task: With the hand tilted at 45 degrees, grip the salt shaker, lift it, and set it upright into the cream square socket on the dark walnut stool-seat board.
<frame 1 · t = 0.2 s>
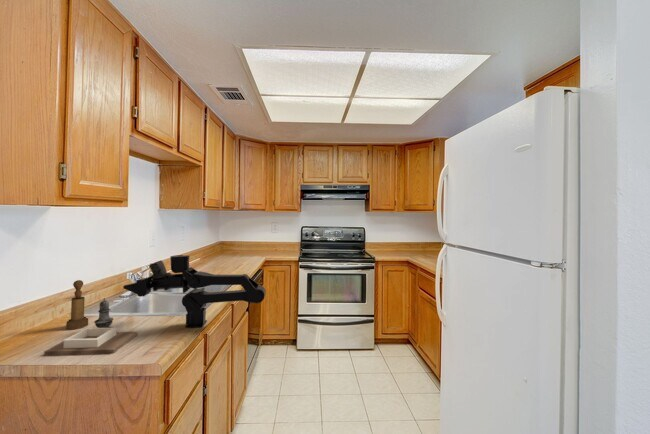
hand: (130, 284, 113), 17 cm above the countertop, tool horizontal, fingers open, 9 cm apart
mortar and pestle: (77, 326, 112), on the countertop
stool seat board: (94, 344, 97), on the countertop
salt shaker: (103, 330, 109), on the countertop
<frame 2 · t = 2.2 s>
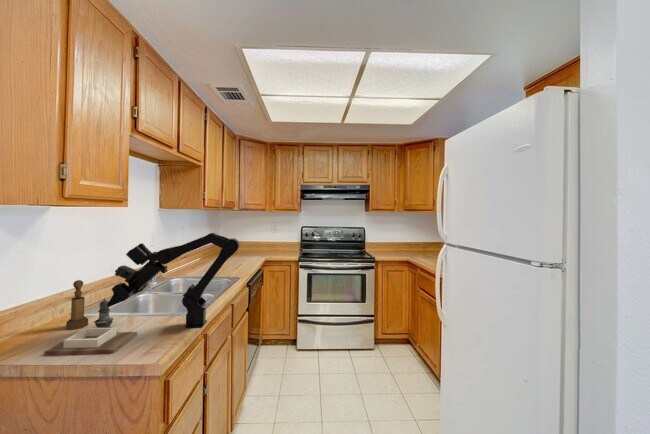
hand: (114, 302, 110), 10 cm above the countertop, tool tilted 45°, fingers open, 9 cm apart
nothing on the countertop moved.
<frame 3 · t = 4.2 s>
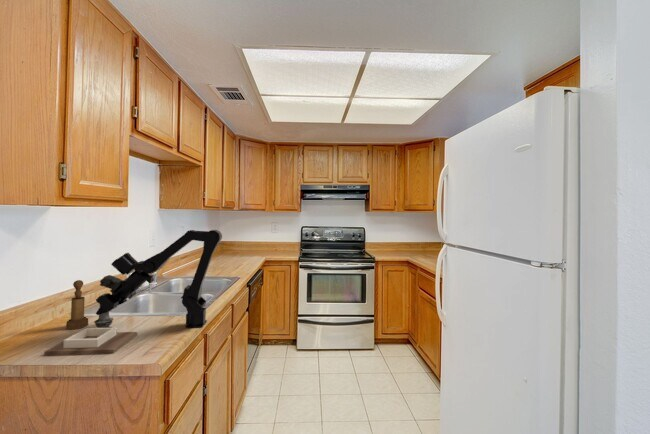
hand: (100, 312, 109), 7 cm above the countertop, tool tilted 45°, fingers closed on salt shaker, 4 cm apart
salt shaker: (103, 330, 109), on the countertop, touching gripper
everything else where it was.
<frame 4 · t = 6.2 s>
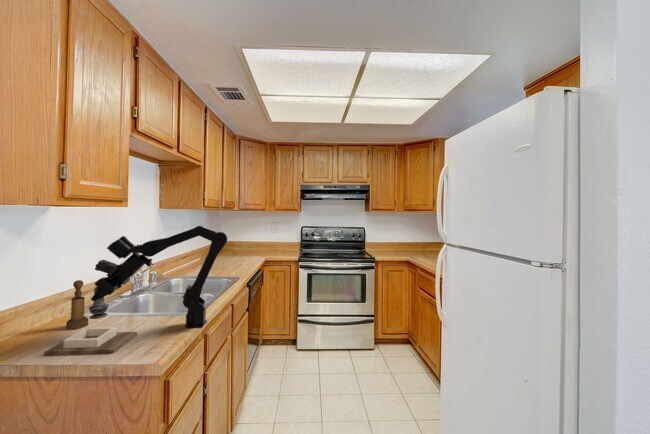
hand: (94, 298, 104), 13 cm above the countertop, tool tilted 45°, fingers closed on salt shaker, 4 cm apart
salt shaker: (98, 316, 105), point 6 cm above the countertop, touching gripper
everything else where it was.
when the fingers open (9 cm above the countertop, at t = 8.3 s): salt shaker stays where it is, resting on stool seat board.
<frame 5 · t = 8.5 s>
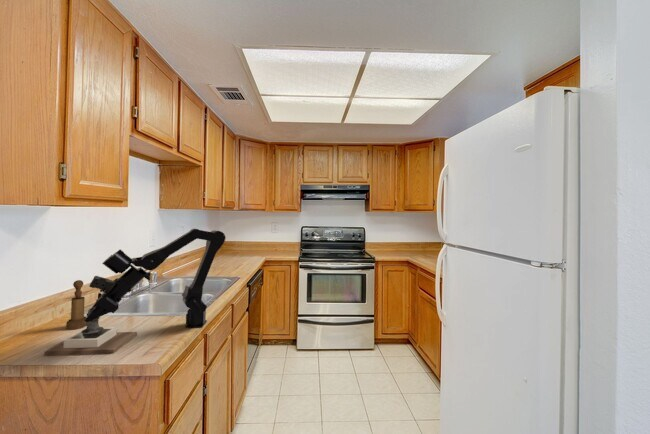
hand: (86, 318, 96), 9 cm above the countertop, tool tilted 45°, fingers open, 6 cm apart
salt shaker: (92, 341, 97), point 1 cm above the countertop, touching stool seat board
everything else where it was.
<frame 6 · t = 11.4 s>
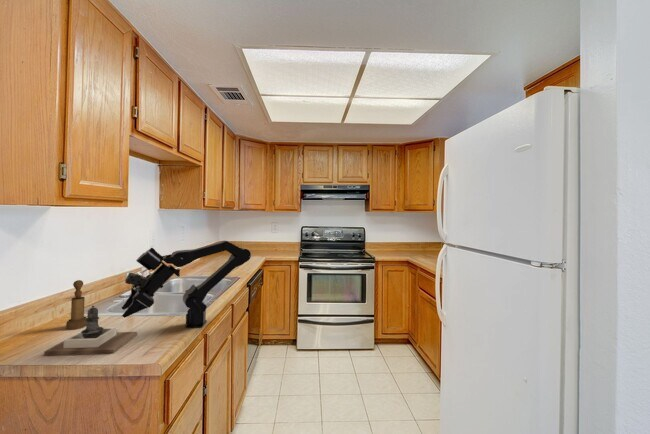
hand: (122, 312, 102), 9 cm above the countertop, tool tilted 45°, fingers open, 9 cm apart
nothing on the countertop moved.
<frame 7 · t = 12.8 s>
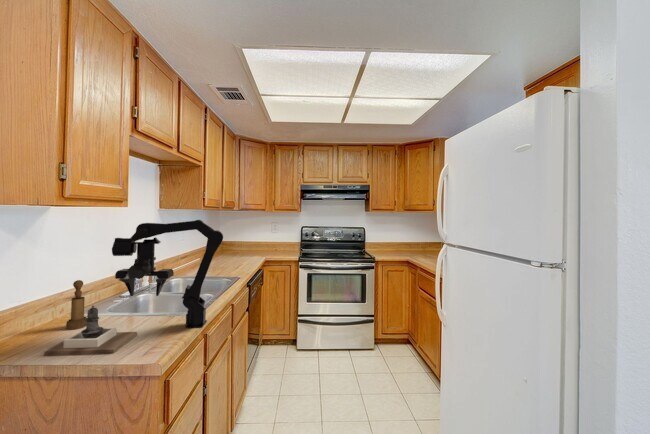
hand: (144, 295, 110), 13 cm above the countertop, tool pointing down, fingers open, 9 cm apart
nothing on the countertop moved.
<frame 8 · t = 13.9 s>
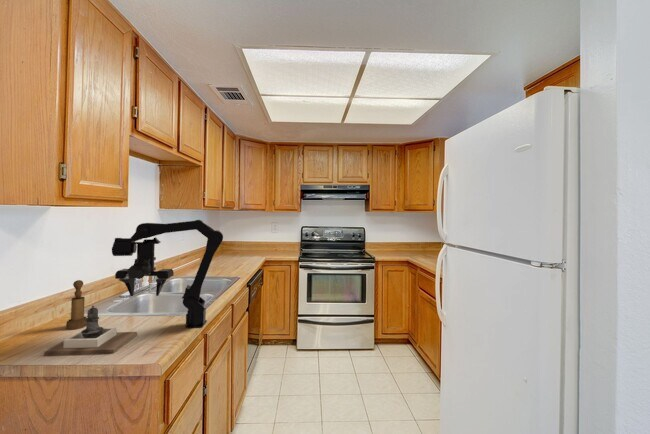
hand: (144, 296, 110), 13 cm above the countertop, tool pointing down, fingers open, 9 cm apart
nothing on the countertop moved.
at the end: salt shaker 0.2 cm from the target spot on the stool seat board, point 1.0 cm above the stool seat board's base; salt shaker tilted 0°; the gripper is holding nothing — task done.
